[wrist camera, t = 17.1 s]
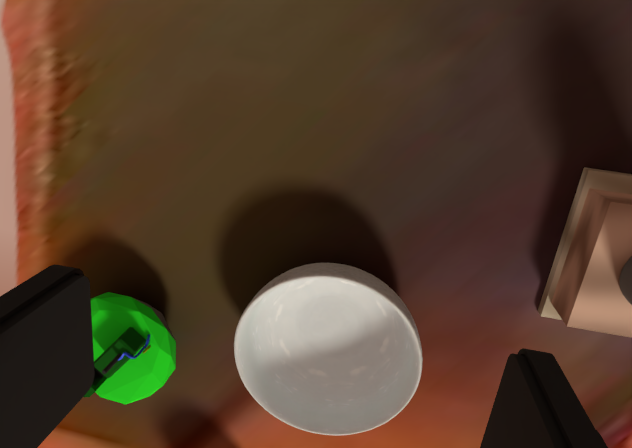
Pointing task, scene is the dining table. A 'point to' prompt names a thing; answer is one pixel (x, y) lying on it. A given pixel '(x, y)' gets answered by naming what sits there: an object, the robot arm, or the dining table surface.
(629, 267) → the bottle
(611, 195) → the pedestal
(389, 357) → the cereal bowl
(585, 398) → the dining table surface
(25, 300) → the robot arm
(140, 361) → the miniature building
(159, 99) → the dining table surface
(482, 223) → the dining table surface
